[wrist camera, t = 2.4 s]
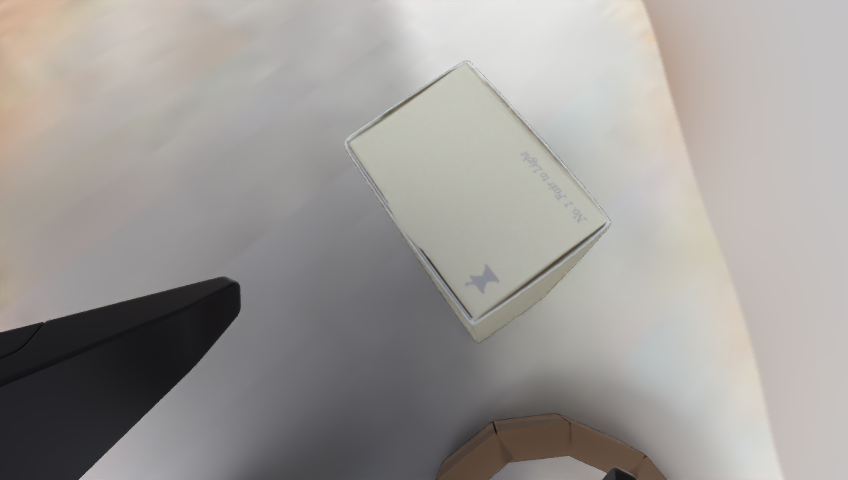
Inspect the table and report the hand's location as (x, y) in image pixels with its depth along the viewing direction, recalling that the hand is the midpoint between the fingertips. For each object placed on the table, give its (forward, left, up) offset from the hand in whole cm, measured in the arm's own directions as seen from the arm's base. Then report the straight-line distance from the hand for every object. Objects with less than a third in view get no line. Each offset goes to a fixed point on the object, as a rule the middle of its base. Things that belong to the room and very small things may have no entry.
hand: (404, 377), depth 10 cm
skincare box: (0, +5, -13) cm, 14 cm away
